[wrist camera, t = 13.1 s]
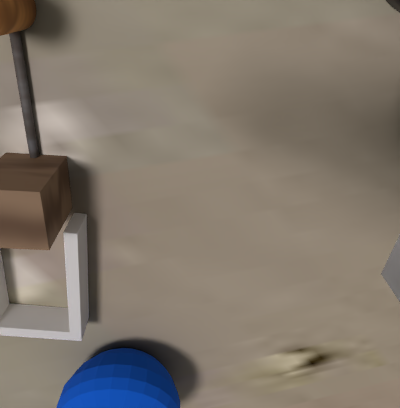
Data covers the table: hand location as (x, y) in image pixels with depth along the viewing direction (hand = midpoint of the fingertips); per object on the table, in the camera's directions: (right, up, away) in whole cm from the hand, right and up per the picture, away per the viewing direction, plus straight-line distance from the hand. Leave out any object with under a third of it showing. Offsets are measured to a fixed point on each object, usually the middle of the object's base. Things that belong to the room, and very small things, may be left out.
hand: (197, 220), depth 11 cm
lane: (-22, -7, +40) cm, 47 cm away
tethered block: (-19, +11, +30) cm, 37 cm away
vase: (-12, -27, +52) cm, 60 cm away
